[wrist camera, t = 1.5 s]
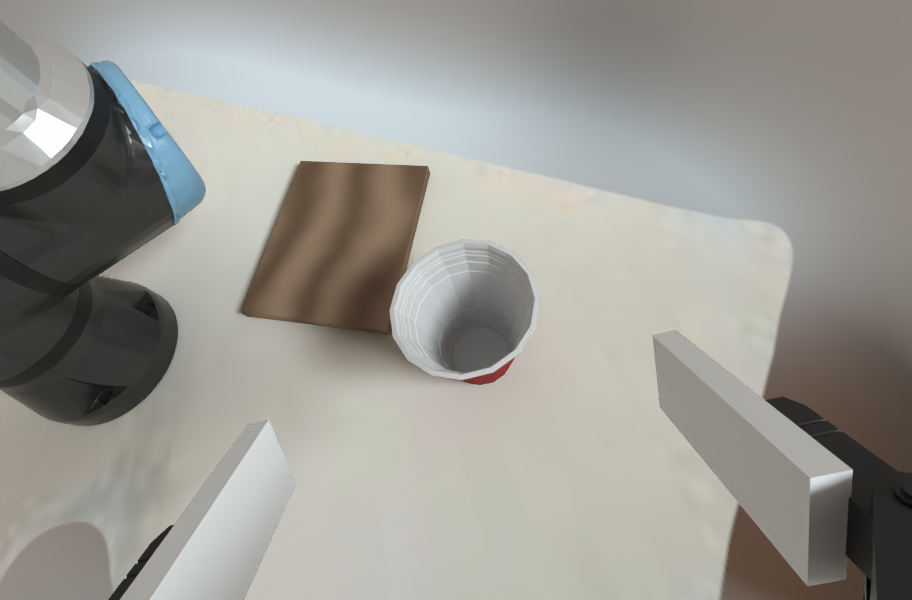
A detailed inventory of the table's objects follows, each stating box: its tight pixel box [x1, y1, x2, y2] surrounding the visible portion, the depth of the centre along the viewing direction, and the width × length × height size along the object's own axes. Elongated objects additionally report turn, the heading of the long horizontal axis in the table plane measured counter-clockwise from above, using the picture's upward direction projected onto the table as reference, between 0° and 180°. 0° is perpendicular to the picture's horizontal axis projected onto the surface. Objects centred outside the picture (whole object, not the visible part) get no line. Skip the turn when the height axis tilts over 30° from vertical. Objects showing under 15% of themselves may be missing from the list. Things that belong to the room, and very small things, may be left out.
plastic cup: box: [390, 239, 540, 385], centre depth 36 cm, size 11×11×12 cm
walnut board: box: [241, 161, 430, 334], centre depth 49 cm, size 16×20×1 cm
